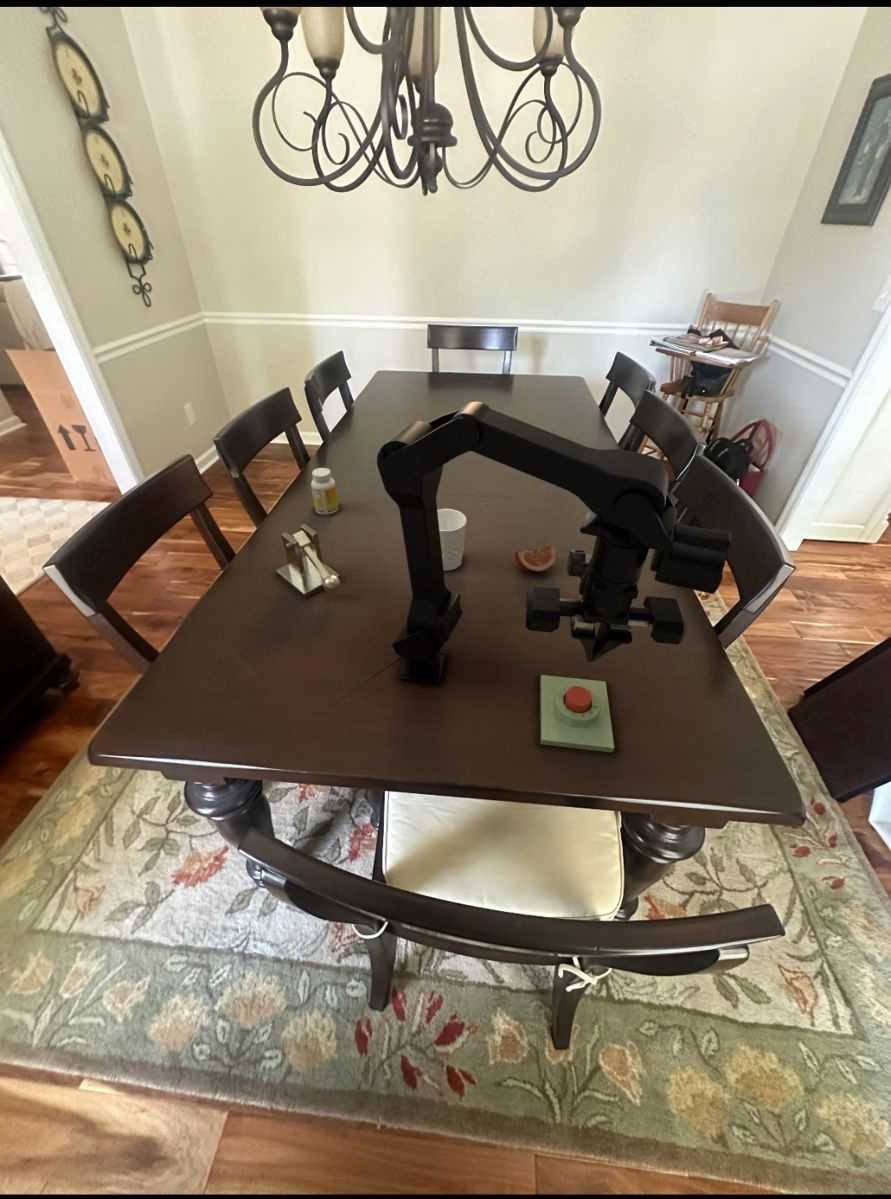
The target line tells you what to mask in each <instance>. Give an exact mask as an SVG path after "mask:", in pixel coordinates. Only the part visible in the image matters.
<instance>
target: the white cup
mask: <svg viewBox="0 0 891 1199" xmlns="http://www.w3.org/2000/svg"><path fill="white" fill-rule="evenodd" d="M437 512H438V522H439V531H440V541H441V551H442V560H443V570H444V572H445V571H446V572H448V571H452V570H453V571H454V570H456V569H458V568H459V567H460V566H461V565H462V562H463V556H464V550H465V541H466V532H467V531H466V530H467V518H466V517H467V516H466V515H465V514H464V513H463V512H461V511H459V510H456V509H452V508H439V509H437Z"/></svg>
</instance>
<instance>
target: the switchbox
mask: <svg viewBox="0 0 891 1199" xmlns="http://www.w3.org/2000/svg"><path fill="white" fill-rule="evenodd" d="M539 681H540V682H539V686H540V687H539V689H540V690H539V692H540V693H539V694H540V695H539V696H540V704H539V705H540V744H541V745H544V746H551V747H552V746H553V747H554V746H555V747H561V748H570V749H579V750H586V751H587V750H588V751H596V752H604V753H613V752H614V750H615V741H614V734H613V726H612V718H611V710H610V705H609V697H608V689H607V683H606V681H604V680H595V679H594V680H593V679H584V678H576V677H575V678H574V677H565V676H556V675H547V674H541V675H540V679H539ZM574 686H580V687H583V688H585V689H587V690H588V691H589V692H590V693H591V696H592V701H591V704H590V707H589V709H588V710H587V711H586V712H584V713H575V712H573V711H571V710H569V709H568V708H567V706H566V705H565V697H566V693H567V691H568V689H569V688H571V687H574Z"/></svg>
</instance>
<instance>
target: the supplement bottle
mask: <svg viewBox="0 0 891 1199" xmlns="http://www.w3.org/2000/svg"><path fill="white" fill-rule="evenodd" d="M311 473H312V480H311V482H310V488H311V493H312V499H313V505H314V510H315V512H316V513H317V514H320V515H324V516H325V515H326V516H327V515H331V514H334V513H336V512H337V511H338V510H339V502H338V501H339V500H338V493H337V487H336V482H335V480H334V478H333V477H332V473H331V469H329V468H328V467H319V468H315V469H313V470H312V472H311Z"/></svg>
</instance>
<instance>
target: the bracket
mask: <svg viewBox="0 0 891 1199" xmlns="http://www.w3.org/2000/svg"><path fill="white" fill-rule="evenodd" d="M299 528H300V531H302V530H303V532H304V533H305V534H306V536H307V537H308V538H309V540H310V541H311V544H310V549H311V550H312V551H313V553H314V554H315V555H316V557H317V558H318V559H319V561H320V562H321V564H322V565H323V566H324V568H325V569H326V570H327V572H328V573H329V575H334V576H336V577H338V578H339V580H341V577H340V574H339V573H337V572H336V571H335V570H333V569H332V568H331V567H329V566H328V565H326V564H325V563H324V561H323V555H322V551H321V545H320V539H319V534H318V532H317V531H315V530H313V528H311V527H309V526H308V525H307V524H306V523H303V524H300V525H299ZM280 537H281V540H282V544H283V548H284V552H285V557H286V561H287V564H286V565H283V566H282V567H279V568H277V569H276V575H277V576H278V577H279V578H281V579H282V580H284V581H285V582H286V583H287V585H289V586H290V587H291V588H292V589H294V590H295V591H297V593H299V594H300V595H301V596H303V598H308V597H309V596H311V595H313V594H315V593H316V592H318V591H320V590H322V589H324V587H323V580H324V579H323V578H322V576H321V575H320V573H319V572H318V571H317V569H316V568H315V567H314V565H313V564H312V562H311V561H310V560H309V558H308V557H307V556H306V555H304V556H303V554H302V552H301V551H300V546H299V542H298V541H297V540H296V539H294V538H293V537H292V535H290V534H289V533H288V532H286V531H284V532H282V533H280Z"/></svg>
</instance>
